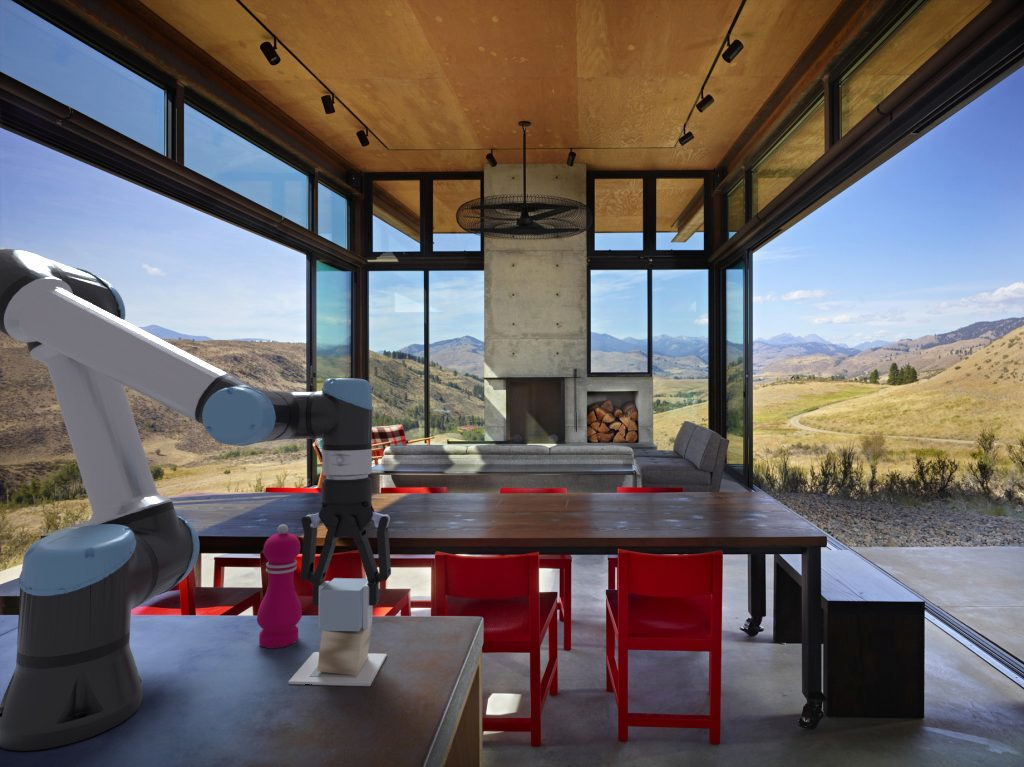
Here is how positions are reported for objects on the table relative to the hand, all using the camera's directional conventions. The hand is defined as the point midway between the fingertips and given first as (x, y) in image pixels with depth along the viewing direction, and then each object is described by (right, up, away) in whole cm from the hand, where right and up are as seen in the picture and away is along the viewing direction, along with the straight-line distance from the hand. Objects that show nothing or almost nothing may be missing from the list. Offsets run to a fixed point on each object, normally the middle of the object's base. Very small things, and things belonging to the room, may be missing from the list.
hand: (345, 625), depth 87 cm
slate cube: (0, 0, 0) cm, 0 cm away
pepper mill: (-15, -7, +10) cm, 19 cm away
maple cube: (0, -6, 0) cm, 6 cm away
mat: (-1, -7, 0) cm, 7 cm away
